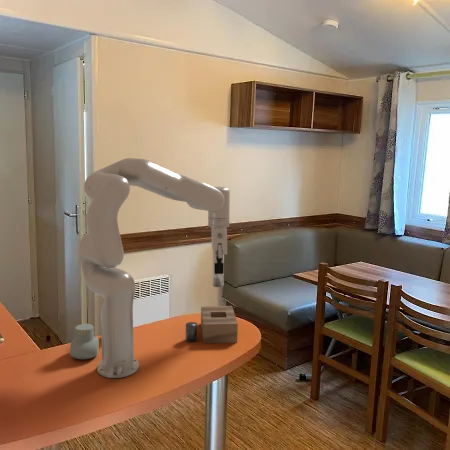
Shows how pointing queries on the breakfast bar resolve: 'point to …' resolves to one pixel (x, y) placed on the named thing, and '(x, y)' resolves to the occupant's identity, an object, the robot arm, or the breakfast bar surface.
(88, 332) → the air freshener
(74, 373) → the breakfast bar surface
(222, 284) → the tall steel pin
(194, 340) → the short black pin
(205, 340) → the walnut block
